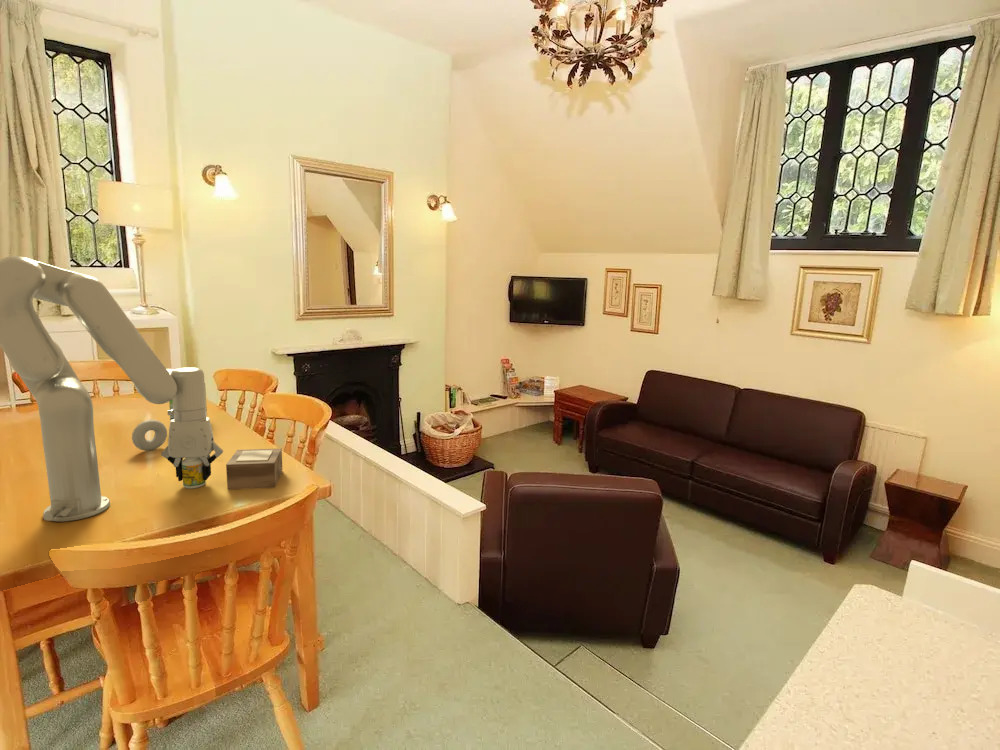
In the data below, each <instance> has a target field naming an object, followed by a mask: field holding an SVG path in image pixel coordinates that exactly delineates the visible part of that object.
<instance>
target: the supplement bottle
mask: <svg viewBox="0 0 1000 750" xmlns="http://www.w3.org/2000/svg"><path fill="white" fill-rule="evenodd" d="M203 466H204V463H203V460H202V458H201V457H197V458H183V460H182V476H183V480H182V486H183V487H184V488H185V489H198V488H201V487H203V486H205V485H206V481H207V480H203V469H202V467H203Z"/></svg>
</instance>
